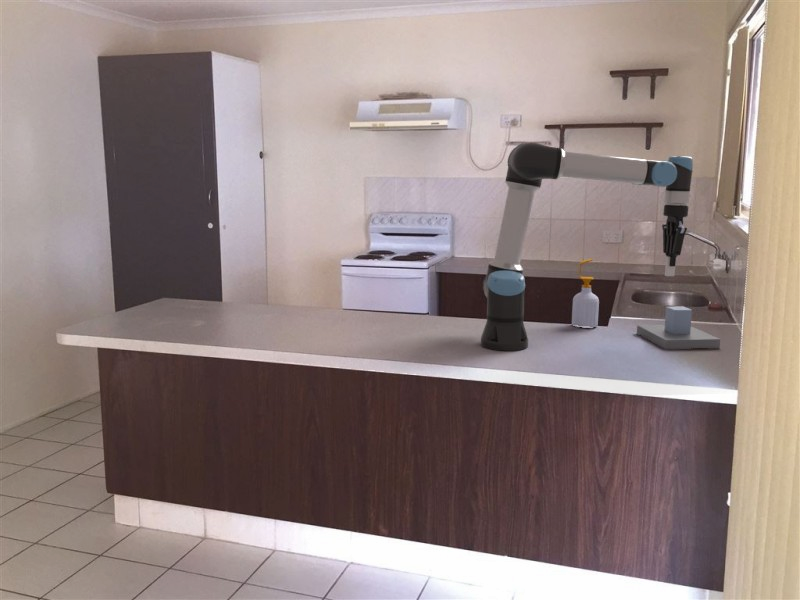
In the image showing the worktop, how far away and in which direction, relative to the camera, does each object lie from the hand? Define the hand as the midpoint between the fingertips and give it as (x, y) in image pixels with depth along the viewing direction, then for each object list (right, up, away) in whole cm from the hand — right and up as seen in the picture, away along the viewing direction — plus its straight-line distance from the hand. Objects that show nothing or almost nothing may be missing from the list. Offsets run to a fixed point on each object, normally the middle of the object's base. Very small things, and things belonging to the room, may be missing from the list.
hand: (669, 275), depth 243 cm
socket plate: (+3, -22, +1) cm, 22 cm away
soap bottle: (-23, -18, +22) cm, 36 cm away
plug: (+3, -21, +1) cm, 21 cm away
